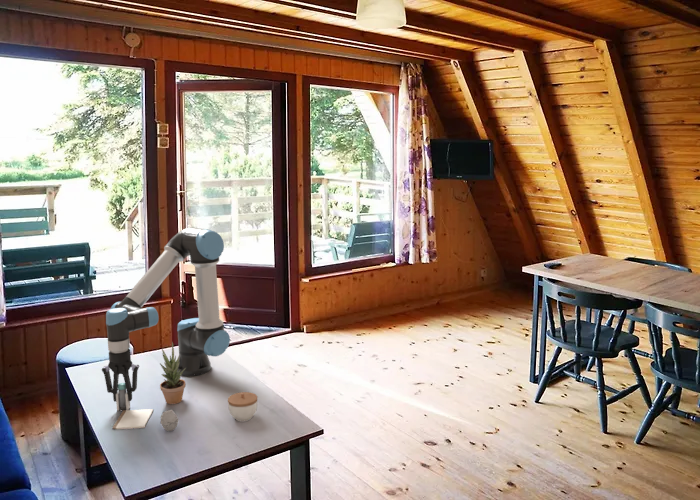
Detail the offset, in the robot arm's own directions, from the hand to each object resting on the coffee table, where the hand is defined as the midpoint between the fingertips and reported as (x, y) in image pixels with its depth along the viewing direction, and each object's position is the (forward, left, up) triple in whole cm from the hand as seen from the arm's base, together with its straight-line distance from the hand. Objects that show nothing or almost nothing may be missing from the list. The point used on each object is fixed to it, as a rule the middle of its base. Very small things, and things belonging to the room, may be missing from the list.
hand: (123, 408), depth 225 cm
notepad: (-6, +9, 0) cm, 11 cm away
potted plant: (-18, -6, -1) cm, 19 cm away
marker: (0, 0, 0) cm, 0 cm away
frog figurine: (-21, +19, -1) cm, 28 cm away
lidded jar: (-46, +12, -1) cm, 48 cm away
